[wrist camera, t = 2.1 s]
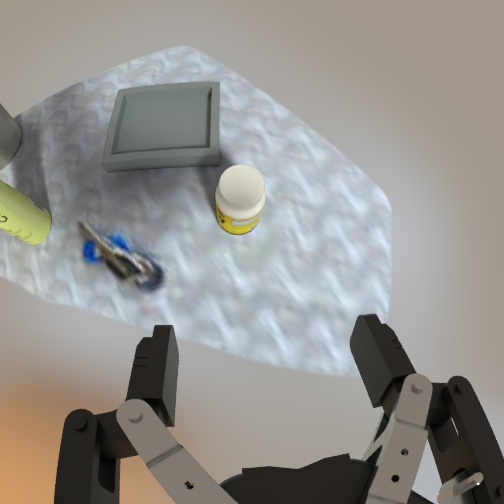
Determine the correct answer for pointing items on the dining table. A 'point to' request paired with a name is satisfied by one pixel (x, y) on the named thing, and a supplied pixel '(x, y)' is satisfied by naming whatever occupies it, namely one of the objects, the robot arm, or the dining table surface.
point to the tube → (23, 216)
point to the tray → (164, 127)
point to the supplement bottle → (239, 199)
